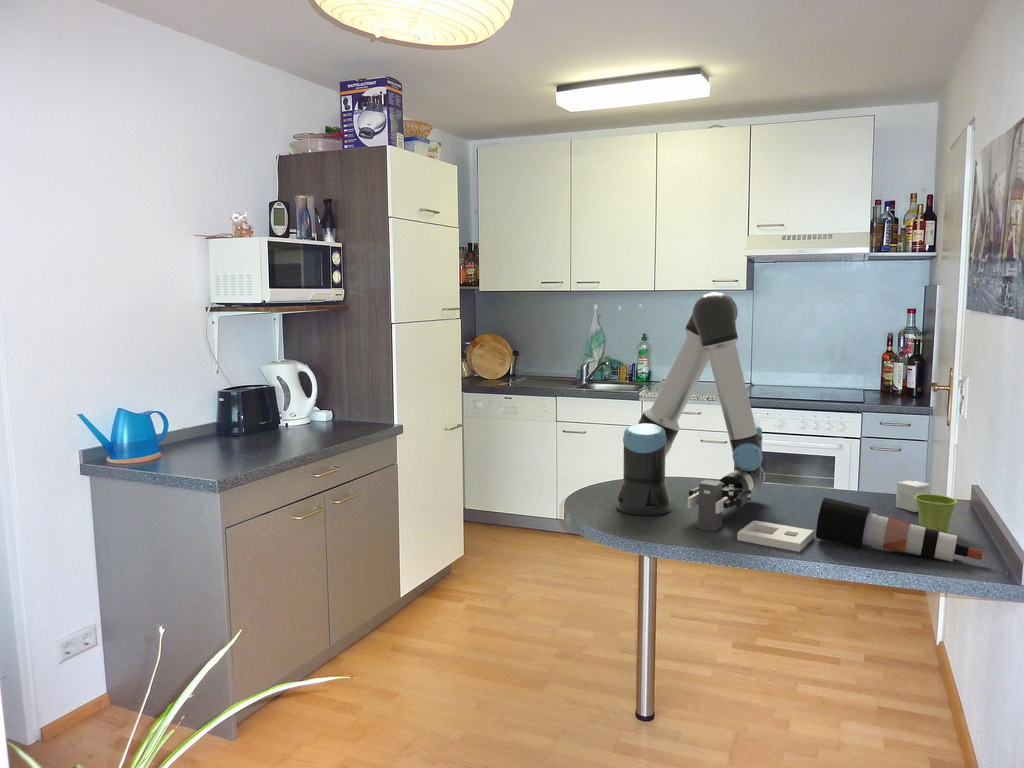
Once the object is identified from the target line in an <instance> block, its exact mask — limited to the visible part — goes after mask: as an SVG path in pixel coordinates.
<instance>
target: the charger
mask: <svg viewBox="0 0 1024 768" xmlns="http://www.w3.org/2000/svg"><path fill="white" fill-rule="evenodd" d="M719 481H720V480H719ZM719 481H717V480H712V479H711V480H710V479H705V480H702V481H701V482H699V484H698V487H699V504H698V515H697V516H698V519H697V520H698V522H697V524H698V525H697V526H698V529H702V530H706V531H712V532H716V531H717V530H719V529H720V528H722V517H723V515H722V513H723V511H721V512H720V513H715V511H716V502H718V501H719V500H721V499H722V482H719Z"/></svg>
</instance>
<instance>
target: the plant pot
mask: <svg viewBox="0 0 1024 768" xmlns="http://www.w3.org/2000/svg"><path fill="white" fill-rule="evenodd" d="M915 499H916V501H917V505H918V521H919V522H918V523H919V525H918V526H921V527H926V528H927V529H932V530H936V531H939V532H943V533H947V534H948V531H949V528H950V523H951V521H952V520H951V519H952V515H953V512H954V509H955V507H956V505H957V504H958V500H957V499H955V498H952V497H949V496H946V495H940V494H933V493H930V494H918V495H916V496H915Z"/></svg>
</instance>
